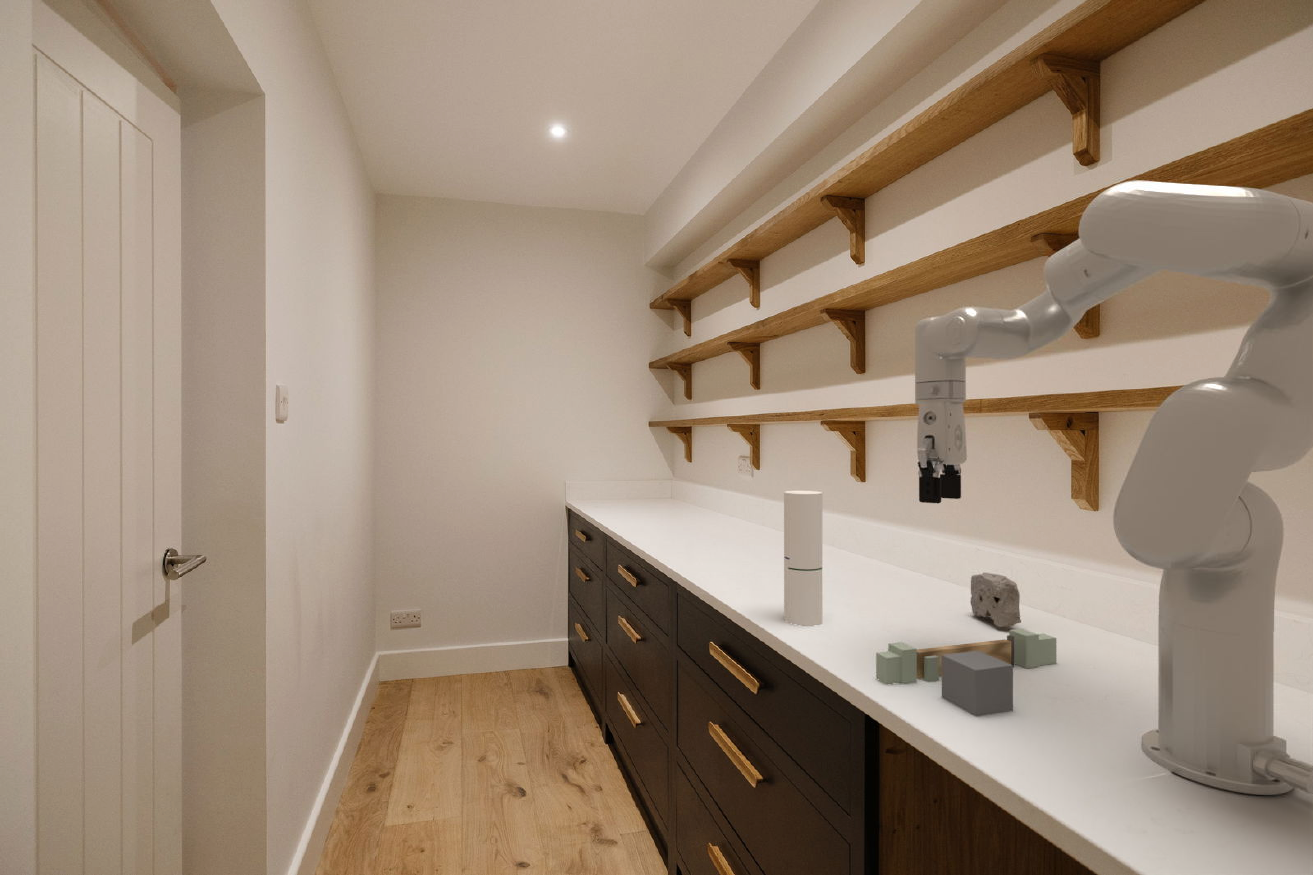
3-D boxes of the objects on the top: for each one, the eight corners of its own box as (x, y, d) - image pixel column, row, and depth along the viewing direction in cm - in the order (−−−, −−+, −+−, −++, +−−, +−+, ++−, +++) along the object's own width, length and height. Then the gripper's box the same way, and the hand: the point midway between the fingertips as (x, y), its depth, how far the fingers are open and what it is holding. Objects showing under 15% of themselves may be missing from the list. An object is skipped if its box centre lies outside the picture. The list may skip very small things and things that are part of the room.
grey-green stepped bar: (1059, 664, 101) (1059, 632, 100) (889, 687, 91) (889, 652, 91) (1041, 657, 104) (1041, 626, 104) (874, 679, 95) (874, 645, 95)
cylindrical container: (809, 616, 128) (809, 490, 128) (829, 626, 121) (829, 493, 121) (777, 619, 125) (777, 491, 125) (796, 630, 119) (796, 494, 119)
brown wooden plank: (1002, 661, 102) (1002, 632, 102) (1016, 666, 100) (1016, 637, 100) (906, 673, 97) (906, 642, 97) (918, 679, 94) (918, 648, 94)
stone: (1027, 628, 115) (1022, 571, 117) (992, 626, 116) (988, 569, 118) (998, 627, 127) (994, 575, 130) (967, 625, 128) (964, 573, 131)
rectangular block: (1012, 711, 84) (1012, 665, 84) (975, 717, 82) (975, 670, 82) (977, 693, 89) (977, 650, 89) (941, 699, 88) (941, 655, 88)
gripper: (946, 390, 95) (947, 506, 95) (980, 396, 108) (981, 498, 108) (896, 392, 100) (896, 503, 100) (934, 398, 113) (934, 495, 113)
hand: (940, 500), depth 104 cm, fingers open, 9 cm apart
